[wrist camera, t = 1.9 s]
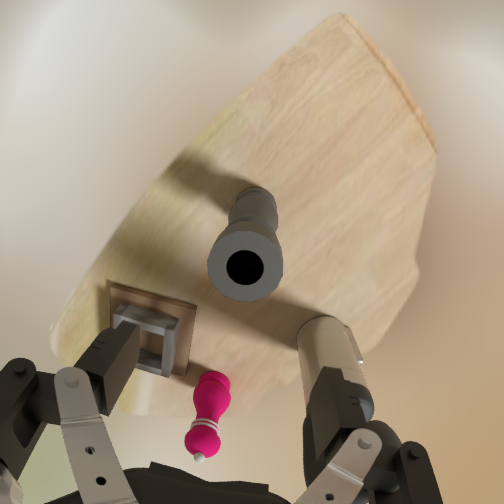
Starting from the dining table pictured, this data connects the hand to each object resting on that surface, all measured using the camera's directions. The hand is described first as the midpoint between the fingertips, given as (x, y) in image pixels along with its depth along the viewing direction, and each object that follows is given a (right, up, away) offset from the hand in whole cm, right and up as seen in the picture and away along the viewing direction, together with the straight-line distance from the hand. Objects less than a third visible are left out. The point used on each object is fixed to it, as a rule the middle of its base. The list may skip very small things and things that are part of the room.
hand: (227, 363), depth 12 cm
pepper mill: (-6, -22, +46) cm, 51 cm away
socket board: (-18, -10, +42) cm, 47 cm away
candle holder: (+2, +12, +34) cm, 36 cm away
